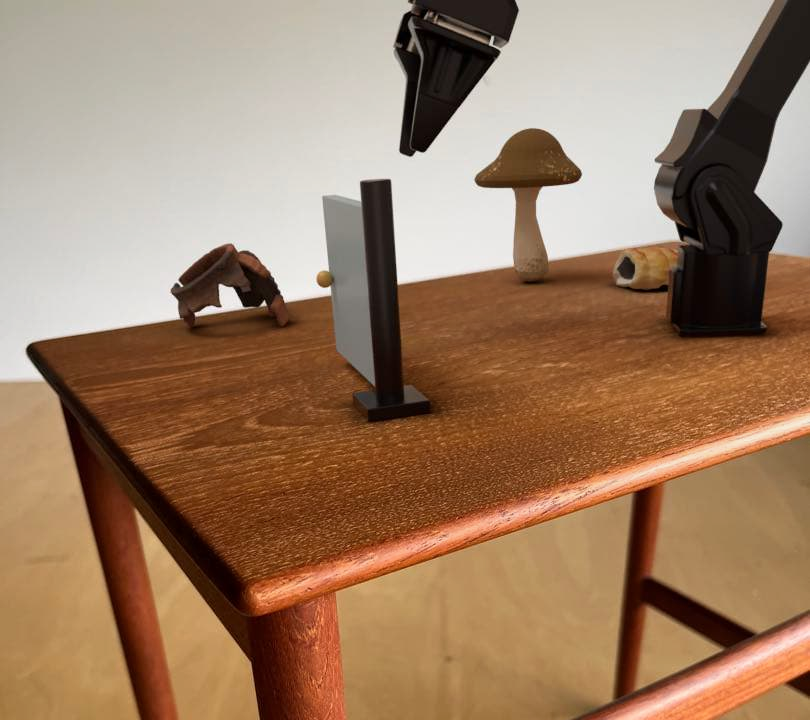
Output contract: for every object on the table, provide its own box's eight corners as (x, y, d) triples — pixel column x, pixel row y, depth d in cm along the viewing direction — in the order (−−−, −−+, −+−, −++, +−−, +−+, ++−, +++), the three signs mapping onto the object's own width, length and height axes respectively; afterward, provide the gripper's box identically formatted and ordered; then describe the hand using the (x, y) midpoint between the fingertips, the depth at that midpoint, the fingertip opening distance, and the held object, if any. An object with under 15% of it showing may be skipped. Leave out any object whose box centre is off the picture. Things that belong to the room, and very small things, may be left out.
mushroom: (500, 272, 101) (498, 129, 95) (594, 276, 95) (598, 123, 89) (459, 286, 94) (454, 133, 88) (558, 291, 89) (560, 127, 82)
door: (392, 387, 57) (380, 205, 52) (359, 392, 56) (343, 209, 51) (349, 348, 67) (335, 194, 62) (320, 352, 67) (305, 197, 62)
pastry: (688, 275, 92) (692, 237, 91) (725, 285, 87) (729, 244, 85) (606, 284, 91) (608, 245, 89) (638, 295, 85) (640, 254, 83)
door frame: (430, 412, 55) (419, 178, 49) (368, 421, 54) (349, 184, 48) (411, 396, 58) (399, 176, 52) (353, 404, 57) (333, 181, 51)
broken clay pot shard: (289, 338, 79) (231, 261, 74) (207, 383, 82) (148, 312, 78) (307, 280, 88) (257, 209, 83) (233, 324, 91) (181, 257, 87)
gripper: (363, -95, 66) (306, 122, 71) (378, -194, 49) (301, 102, 54) (500, -37, 68) (435, 169, 73) (560, -112, 51) (469, 164, 56)
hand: (410, 153), depth 64 cm, fingers open, 9 cm apart
